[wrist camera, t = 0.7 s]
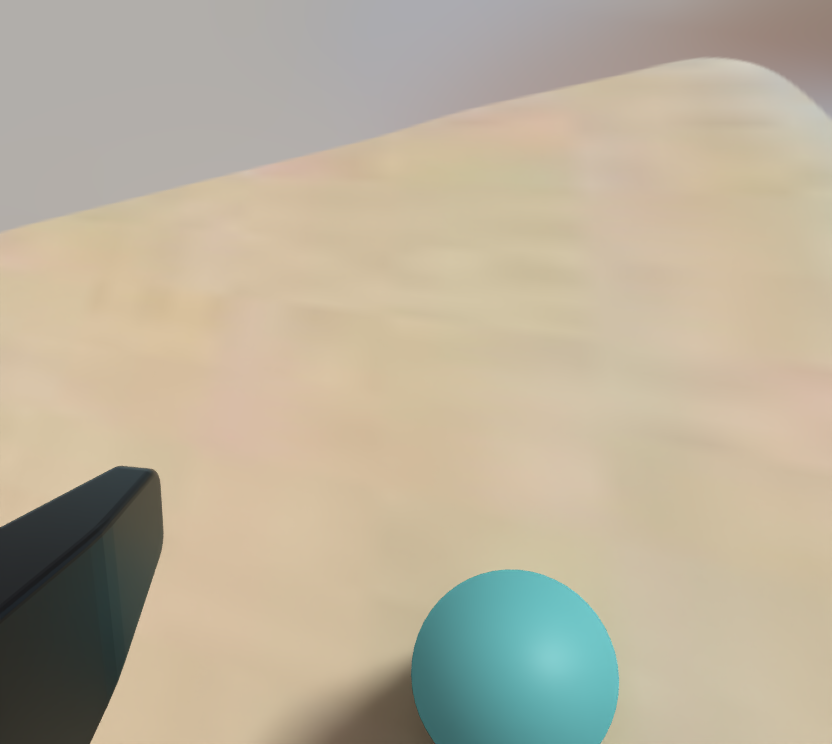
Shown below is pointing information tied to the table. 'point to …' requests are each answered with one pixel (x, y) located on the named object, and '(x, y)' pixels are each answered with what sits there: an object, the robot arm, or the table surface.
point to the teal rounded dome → (514, 664)
